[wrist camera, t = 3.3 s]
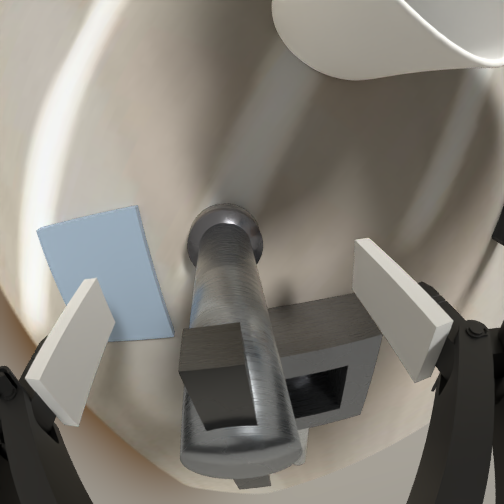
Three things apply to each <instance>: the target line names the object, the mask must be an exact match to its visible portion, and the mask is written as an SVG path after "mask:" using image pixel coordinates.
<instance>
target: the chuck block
mask: <svg viewBox="0 0 504 504" xmlns="http://www.w3.org/2000/svg"><path fill="white" fill-rule="evenodd" d="M268 313H269V317H270V321H271V325H272V329H273V333H274V337H275V341H276V345H277V349H278V353H279V357H280V361H281V365H282V369H283V373H284V377H285V381H286V385H287V389H288V393H289V397H290V401H291V405H292V409H293V413H294V417H295V421H296V425H297V429H298V433H299V437H300V441H301V446H302V450H303V452H302V455H301V457H300V458H299V459H298V461H296V462H295V463H294V465H302V464H303V463H304V462H305V460H306V452H307V442H308V432H309V428H311V427H315V426H319V425H324V424H328V423H332V422H335V421H339V420H343V419H346V418H350V417H353V416H357V415H360V414H361V411H362V408H363V405H364V402H365V399H366V395H367V392H368V389H369V385H370V382H371V378H372V375H373V371H374V368H375V364H376V360H377V356H378V352H379V348H380V344H381V339H382V335H383V334H382V333H381V331H380V330H379V328H378V327H377V325H376V324H375V322H374V321H373V319H372V318H371V316H370V315H369V313H368V312H367V310H366V309H365V308H364V306H363V305H362V303H361V302H360V300H359V299H358V297H357V296H356V294H355V293H352V294H347V295H342V296H337V297H332V298H327V299H321V300H316V301H311V302H305V303H299V304H294V305H288V306H282V307H276V308H270V309H268Z"/></svg>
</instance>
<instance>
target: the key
mask: <svg viewBox="0 0 504 504" xmlns="http://www.w3.org/2000/svg"><path fill="white" fill-rule="evenodd" d="M187 245H188V254H189V257H190V259H191V261H192V263H193V265H194V266H195V267H196V274H195V282H194V290H193V298H192V307H191V316H190V325H189V328H188V329H183V336H182V344H181V353H180V362H179V371H178V372H179V374H180V376H181V378H182V381H183V383H184V394H183V409H182V427H181V450H180V460H181V462H182V464H183V465H184V466H185V467H186V468H188V469H189V470H191V471H193V472H195V473H198V474H201V475H204V476H209V477H214V478H222V479H233V480H234V481H235V483H236V485H237V486H238V488H239V489H249V488H258V487H266V486H271V482H270V476H269V474H272V473H275V472H278V471H281V470H283V469H285V468H287V467H289V466H291V465H292V464H294V463H295V462H296V461H298V459H299V458H300V457H301V455H302V452H303V450H302V446H301V441H300V437H299V433H298V429H297V425H296V421H295V417H294V413H293V409H292V405H291V401H290V397H289V393H288V389H287V385H286V381H285V377H284V373H283V369H282V365H281V361H280V357H279V353H278V349H277V345H276V341H275V337H274V333H273V329H272V325H271V321H270V317H269V313H268V309H267V305H266V301H265V297H264V293H263V289H262V285H261V281H260V277H259V273H258V269H257V265H256V264H257V263H258V261H259V260H260V257H261V255H262V251H263V240H262V236H261V233H260V230H259V227H258V224H257V222H256V220H255V219H254V217H253V216H252V215H251V214H250V213H249V212H248V211H247V210H245V209H244V208H242V207H240V206H237V205H234V204H225V203H224V204H217V205H213V206H210V207H208V208H206V209H205V210H203V211H202V212H201V213H200V214H199V215H198V216H197V217H196V218H195V220H194V222H193V224H192V226H191V230H190V234H189V238H188V244H187Z"/></svg>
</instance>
